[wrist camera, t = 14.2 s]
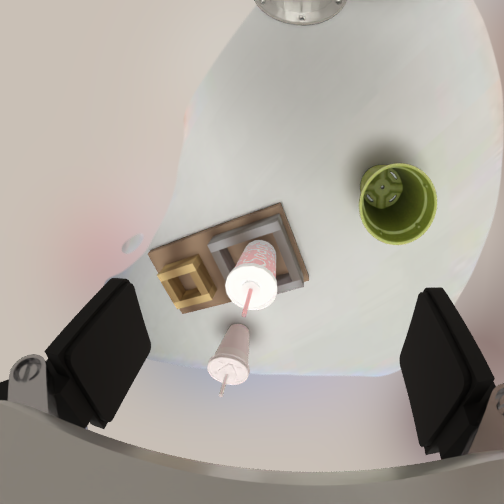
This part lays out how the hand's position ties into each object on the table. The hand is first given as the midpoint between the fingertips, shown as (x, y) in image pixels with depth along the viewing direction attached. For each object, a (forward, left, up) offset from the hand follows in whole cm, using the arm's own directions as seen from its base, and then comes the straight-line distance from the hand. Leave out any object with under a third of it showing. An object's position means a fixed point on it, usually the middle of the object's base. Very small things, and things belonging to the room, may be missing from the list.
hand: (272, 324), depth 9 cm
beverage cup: (+13, -5, -31) cm, 34 cm away
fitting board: (+15, -10, -32) cm, 37 cm away
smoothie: (+28, -9, -32) cm, 44 cm away
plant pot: (+3, +12, -32) cm, 35 cm away
